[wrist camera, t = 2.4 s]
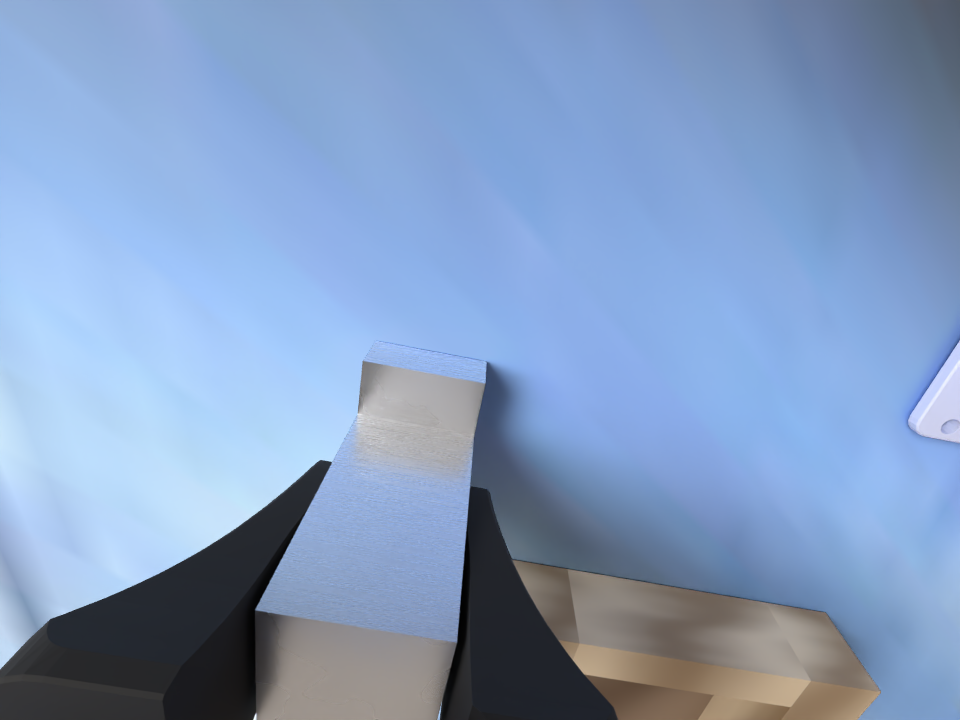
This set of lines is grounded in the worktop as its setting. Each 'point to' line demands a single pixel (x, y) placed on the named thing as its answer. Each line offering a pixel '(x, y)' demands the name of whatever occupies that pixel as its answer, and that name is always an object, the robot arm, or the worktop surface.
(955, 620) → the worktop surface
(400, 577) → the stepped metal bar
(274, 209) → the worktop surface
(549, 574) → the well block
